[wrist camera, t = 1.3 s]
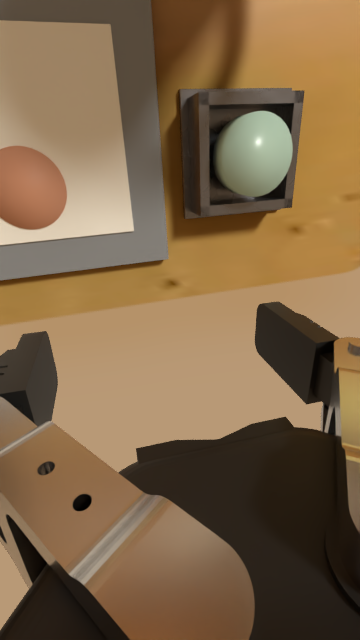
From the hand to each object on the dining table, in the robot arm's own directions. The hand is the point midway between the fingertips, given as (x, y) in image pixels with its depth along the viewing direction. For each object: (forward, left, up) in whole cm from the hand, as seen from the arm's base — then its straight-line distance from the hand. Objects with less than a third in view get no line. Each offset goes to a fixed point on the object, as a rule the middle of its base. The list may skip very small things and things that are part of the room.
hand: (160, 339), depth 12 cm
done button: (+6, +12, -17) cm, 22 cm away
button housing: (+6, +12, -20) cm, 24 cm away
